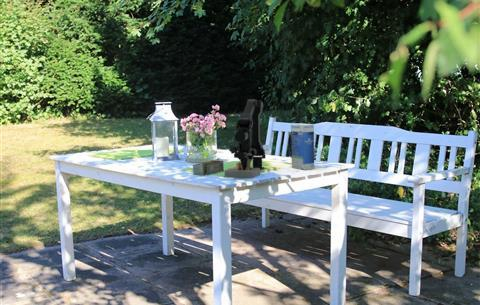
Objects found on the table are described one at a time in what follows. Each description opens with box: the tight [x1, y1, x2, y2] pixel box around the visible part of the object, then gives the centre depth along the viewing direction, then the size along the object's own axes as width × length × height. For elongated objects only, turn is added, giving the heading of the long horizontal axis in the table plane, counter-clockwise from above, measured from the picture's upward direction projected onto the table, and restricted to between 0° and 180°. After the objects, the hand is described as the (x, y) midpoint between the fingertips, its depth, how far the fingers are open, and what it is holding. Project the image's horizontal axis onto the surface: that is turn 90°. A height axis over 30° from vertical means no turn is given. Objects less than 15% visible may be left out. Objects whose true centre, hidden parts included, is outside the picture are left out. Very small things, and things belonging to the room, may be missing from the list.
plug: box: [241, 159, 252, 171], centre depth 309 cm, size 4×4×7 cm
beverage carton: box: [192, 160, 225, 177], centre depth 322 cm, size 8×19×7 cm, turn 145°
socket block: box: [223, 167, 261, 179], centre depth 310 cm, size 12×16×4 cm
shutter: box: [227, 161, 241, 170], centre depth 311 cm, size 6×6×4 cm
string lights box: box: [290, 122, 315, 171], centre depth 331 cm, size 13×8×26 cm, turn 30°
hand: (245, 169), depth 309 cm, fingers closed on plug, 4 cm apart
